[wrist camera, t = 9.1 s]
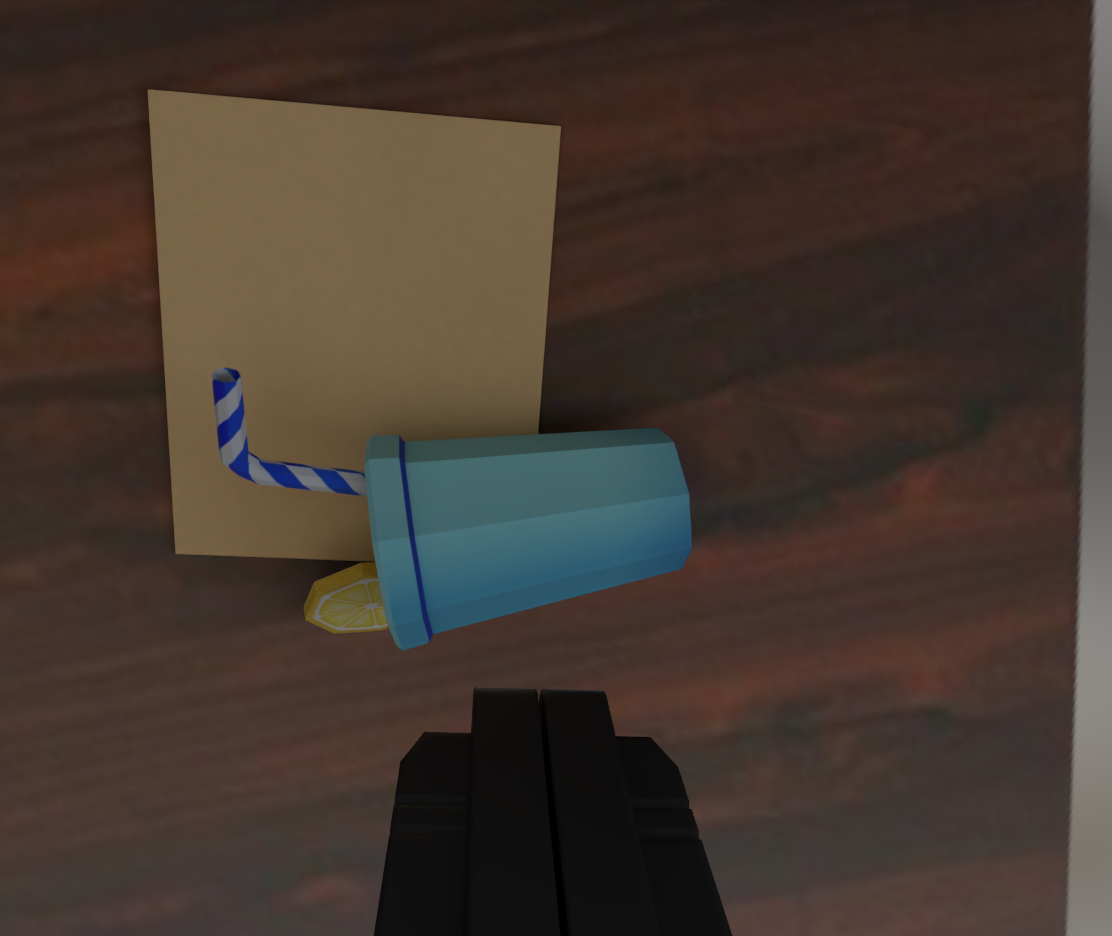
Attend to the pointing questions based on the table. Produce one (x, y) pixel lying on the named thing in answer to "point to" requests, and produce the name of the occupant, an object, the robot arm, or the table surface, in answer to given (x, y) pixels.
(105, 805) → the table surface
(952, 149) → the table surface
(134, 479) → the table surface
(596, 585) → the cup
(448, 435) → the cork mat
